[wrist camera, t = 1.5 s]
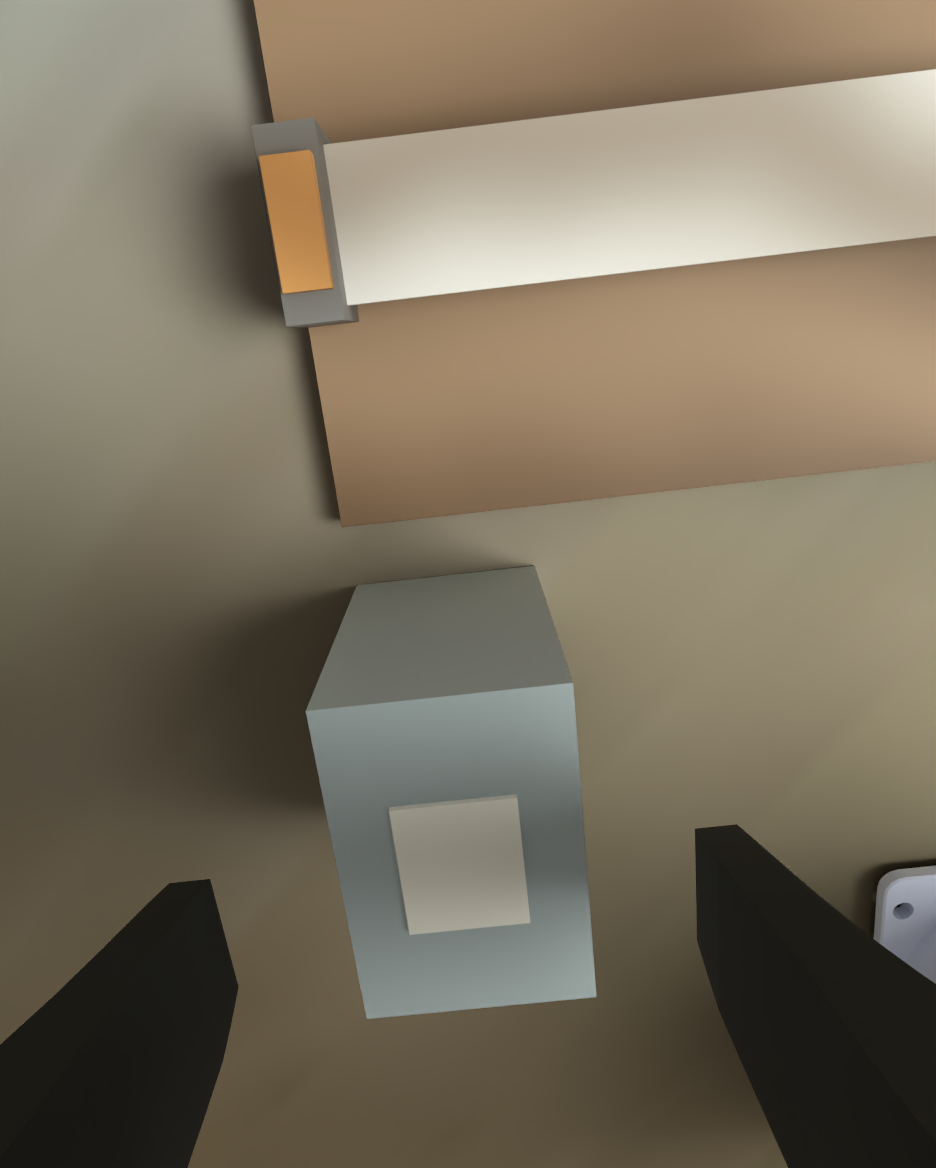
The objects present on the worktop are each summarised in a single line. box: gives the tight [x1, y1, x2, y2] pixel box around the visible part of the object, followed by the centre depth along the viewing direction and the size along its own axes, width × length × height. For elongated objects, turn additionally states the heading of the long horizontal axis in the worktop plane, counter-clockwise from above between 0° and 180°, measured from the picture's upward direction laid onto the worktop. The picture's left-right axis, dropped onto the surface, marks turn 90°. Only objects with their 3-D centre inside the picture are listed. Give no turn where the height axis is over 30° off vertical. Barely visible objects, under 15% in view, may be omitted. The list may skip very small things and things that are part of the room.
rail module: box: [306, 566, 596, 1019], centre depth 15 cm, size 6×4×6 cm, turn 6°
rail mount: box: [251, 0, 936, 527], centre depth 13 cm, size 11×18×3 cm, turn 96°
